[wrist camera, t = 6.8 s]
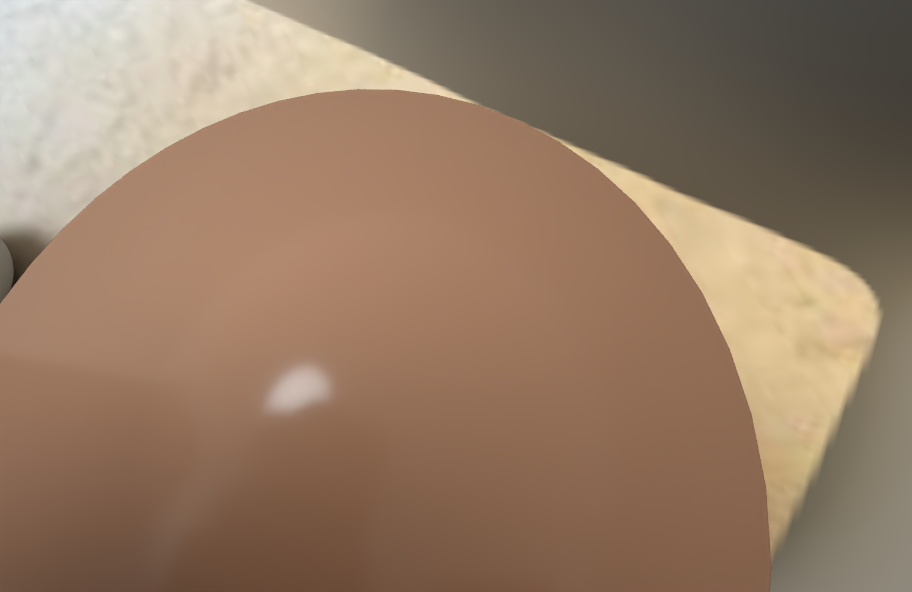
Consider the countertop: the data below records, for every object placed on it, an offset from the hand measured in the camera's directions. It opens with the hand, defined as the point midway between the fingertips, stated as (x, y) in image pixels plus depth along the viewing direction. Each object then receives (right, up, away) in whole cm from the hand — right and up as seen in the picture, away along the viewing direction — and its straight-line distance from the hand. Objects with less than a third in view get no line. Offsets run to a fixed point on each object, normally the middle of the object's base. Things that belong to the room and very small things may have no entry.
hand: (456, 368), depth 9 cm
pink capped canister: (+1, -4, +7) cm, 8 cm away
